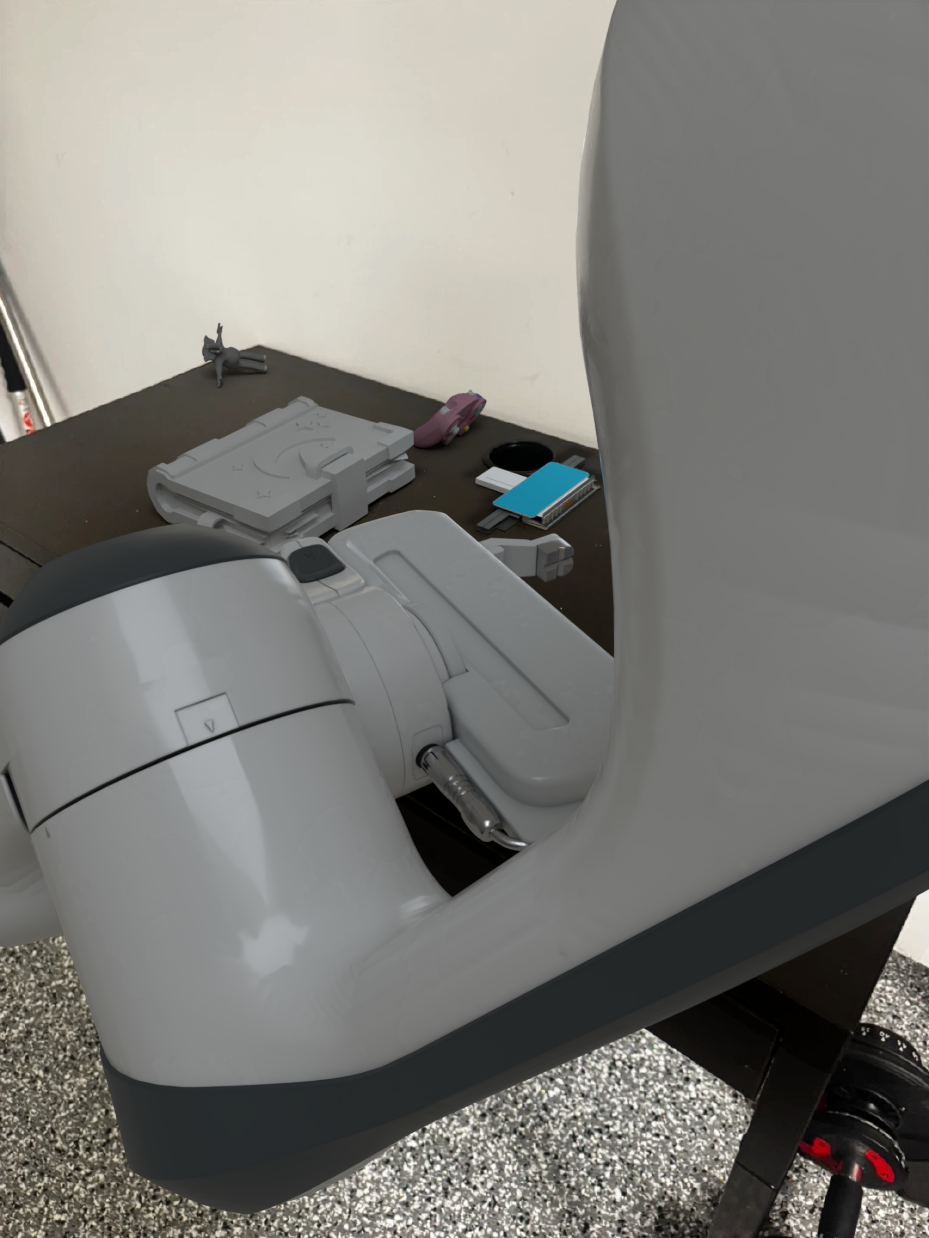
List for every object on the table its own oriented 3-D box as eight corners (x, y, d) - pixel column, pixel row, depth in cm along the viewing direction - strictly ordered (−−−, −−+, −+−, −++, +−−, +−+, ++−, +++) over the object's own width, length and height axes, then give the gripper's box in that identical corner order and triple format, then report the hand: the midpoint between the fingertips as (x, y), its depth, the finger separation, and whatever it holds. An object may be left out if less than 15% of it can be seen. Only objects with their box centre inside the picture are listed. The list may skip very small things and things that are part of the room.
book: (111, 539, 91) (92, 472, 86) (298, 440, 109) (291, 381, 105) (246, 600, 82) (233, 530, 78) (424, 482, 101) (423, 419, 96)
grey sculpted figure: (272, 387, 123) (206, 373, 119) (259, 406, 128) (195, 394, 124) (271, 323, 126) (206, 308, 121) (258, 344, 131) (196, 330, 126)
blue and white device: (531, 447, 108) (532, 434, 107) (618, 474, 102) (620, 461, 101) (431, 513, 95) (430, 499, 94) (524, 548, 90) (525, 534, 89)
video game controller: (434, 466, 107) (456, 423, 102) (406, 442, 108) (426, 399, 103) (476, 436, 114) (498, 394, 109) (449, 414, 114) (470, 372, 109)
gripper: (504, 807, 28) (805, 663, 34) (270, 526, 42) (510, 457, 48) (500, 924, 32) (771, 776, 38) (286, 630, 46) (507, 555, 52)
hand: (623, 596), depth 43 cm, fingers open, 8 cm apart
